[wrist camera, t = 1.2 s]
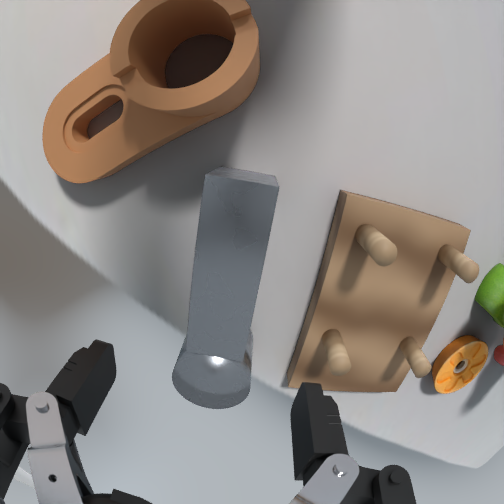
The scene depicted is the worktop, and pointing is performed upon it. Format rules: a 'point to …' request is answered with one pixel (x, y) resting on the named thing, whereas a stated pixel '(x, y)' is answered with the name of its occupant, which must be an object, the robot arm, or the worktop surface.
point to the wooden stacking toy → (472, 340)
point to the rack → (377, 295)
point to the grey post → (225, 287)
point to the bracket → (149, 87)
